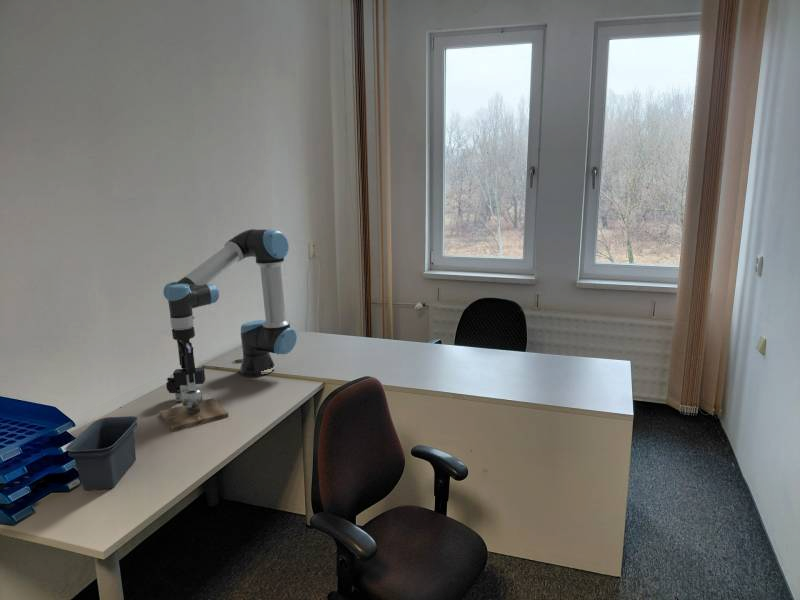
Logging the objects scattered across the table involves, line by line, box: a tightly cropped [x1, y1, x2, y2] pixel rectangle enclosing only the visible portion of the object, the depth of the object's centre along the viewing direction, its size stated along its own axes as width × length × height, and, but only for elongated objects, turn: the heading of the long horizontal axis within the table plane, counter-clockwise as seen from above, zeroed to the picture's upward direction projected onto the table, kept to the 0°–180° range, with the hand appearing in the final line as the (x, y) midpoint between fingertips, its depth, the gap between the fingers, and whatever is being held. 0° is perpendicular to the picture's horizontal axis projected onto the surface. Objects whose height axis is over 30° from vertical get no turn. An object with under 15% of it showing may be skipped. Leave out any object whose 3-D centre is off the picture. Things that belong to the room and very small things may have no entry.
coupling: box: [172, 367, 206, 408], centre depth 205 cm, size 10×10×13 cm
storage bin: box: [65, 415, 139, 491], centre depth 166 cm, size 21×16×14 cm
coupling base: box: [159, 397, 229, 432], centre depth 207 cm, size 20×18×5 cm
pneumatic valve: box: [165, 373, 187, 402], centre depth 222 cm, size 6×12×12 cm, turn 169°
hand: (189, 387), depth 205 cm, fingers closed on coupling, 6 cm apart
